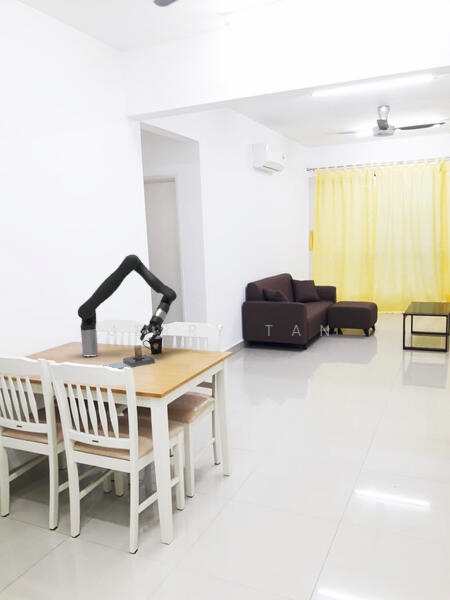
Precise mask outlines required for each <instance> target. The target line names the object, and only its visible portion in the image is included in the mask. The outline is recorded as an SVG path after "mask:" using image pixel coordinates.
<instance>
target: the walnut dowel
mask: <svg viewBox="0 0 450 600" xmlns="http://www.w3.org/2000/svg"><path fill="white" fill-rule="evenodd" d="M133 347H134V356H135V360H140V359H142V355H143V352H142V351H143V350H142V345H141V344H140V345H138V344H137V345H133Z"/></svg>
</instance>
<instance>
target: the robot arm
mask: <svg viewBox="0 0 450 600" xmlns="http://www.w3.org/2000/svg"><path fill="white" fill-rule="evenodd" d="M133 271H134V272H135V273H137V274H138V275H139V276H140V277H141V278H142V279H143V280H144V281H145V283H146V284H147V285H148V286H149V287H150V288H151V289H152V290H153V291H155V293H157V294H161V295H162V297H161V299H160V301H159V304H158V306H157V308H156V310H155V311H154V312H153V314H152V316H151V318H150V319H149V324H148V325H147V324H144V325H143V326H142V328H141V330H140V337H139V340H140V341H141V342H143V341H144V339H145V337H146V336H147V335H150V334H152V336H150V337H151V339H150V340H151V341H152V342H153V341H154V340H155V338H156V337H157V336H161V335H162V332H163V330H164V327H163V326H162V325H163V323H164V322H165V319H166V317H167V315H168V313H169V312H170V308H171V307H170V306H171V305H172V304H173V302H174V301H175V300H176V299H177V295H178V294H177V293H176V291H175V290H174V289H172V288H171V287H169V285H166V284H164V283H163V282H162V280H161V279H160V278H158V277H157V276H156V275H155V274H154V273H153V272H152V271H150V270H149V269H148V267H147V266H146V265H145V264H144V263H143V262H142V260H141V259H140V257H139V256H138V255H137V254H134V253H133V254H128V255H126V256H125V257H124V259H123V260H122V262H121V263H120V264H119V266H118V267H117V268H116V269H115V270H114V271H113V272H112V273H111V274H110V275H108V276H107V277H106V278H105V279H104V281H103V282H102V283H100V285H99V286H98V287H97V289H95V291H94V292H93V293H92V295H91V296H90V297H88V299H87V300H86V301H85V302H83V304H81V305H80V306H79V307H78V309H77V315H78V317H79V318H80V319H81V323H80V334H81V336H80V337H81V346H82V347H81V348H82V356H83V355H97V354H98V355H99V348H98V336H97V312H96V310H97V309H98V308H99V307H100V305H101V304H103V303H104V302H105V301H106V300H108V299H109V298H110V297H111V296H112V295H113V294H114V293H115V292H116V291H117V290H118V289H119V287H120V286H121V284H122V283H123V282H124V280H125V279H126V278H127V276H128V275H130V274H131V273H132V272H133Z"/></svg>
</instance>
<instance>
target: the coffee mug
mask: <svg viewBox="0 0 450 600" xmlns="http://www.w3.org/2000/svg"><path fill="white" fill-rule="evenodd" d="M151 337H152V336H150V337H148V340H147V339H146V340H143V341H142V345H143V346H144V348H146V349H149V351H150V353H151V355H154V356H155V355H161V354H162V352H163V336H161V335H160V336H157V337H156V338H155V340H154V341H153V342H152V341H151V340H150V339H151ZM145 342H148V344H149V346H147V345H145V344H144V343H145Z"/></svg>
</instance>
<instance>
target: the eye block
mask: <svg viewBox="0 0 450 600" xmlns="http://www.w3.org/2000/svg"><path fill="white" fill-rule="evenodd" d="M155 359H156V358H154V357H151V356H150V355H147V354H142V359H140V360H135V355H134V356H130V357H124V358H122V362H123V363H122V364H124V365H126V366H128V367H131V368H135V367H140V366H145V365H151V364H152V365H153V364H155V363H156V360H155Z"/></svg>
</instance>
